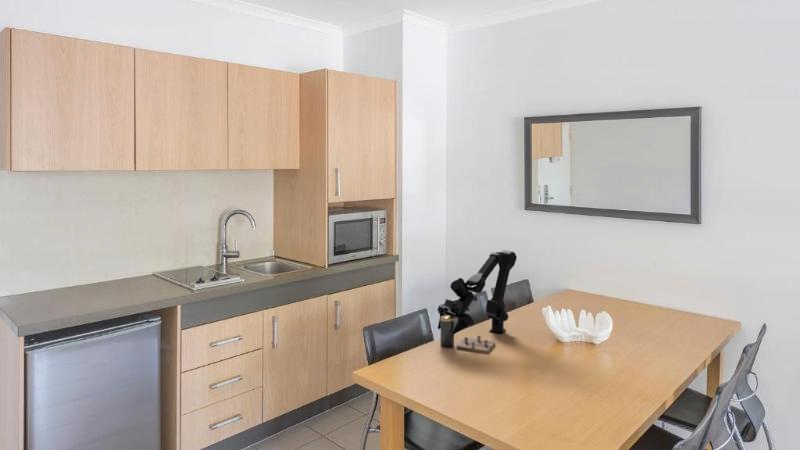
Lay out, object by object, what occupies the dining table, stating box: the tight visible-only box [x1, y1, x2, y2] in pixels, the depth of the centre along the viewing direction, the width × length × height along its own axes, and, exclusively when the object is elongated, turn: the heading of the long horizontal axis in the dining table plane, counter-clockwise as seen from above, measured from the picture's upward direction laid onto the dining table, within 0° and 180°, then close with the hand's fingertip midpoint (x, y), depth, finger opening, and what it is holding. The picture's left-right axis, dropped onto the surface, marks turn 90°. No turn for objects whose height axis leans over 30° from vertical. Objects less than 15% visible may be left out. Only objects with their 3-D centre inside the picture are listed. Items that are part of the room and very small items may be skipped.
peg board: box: [456, 334, 496, 354], centre depth 241 cm, size 12×14×4 cm
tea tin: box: [440, 315, 455, 349], centre depth 242 cm, size 6×6×13 cm
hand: (445, 331), depth 241 cm, fingers open, 9 cm apart
